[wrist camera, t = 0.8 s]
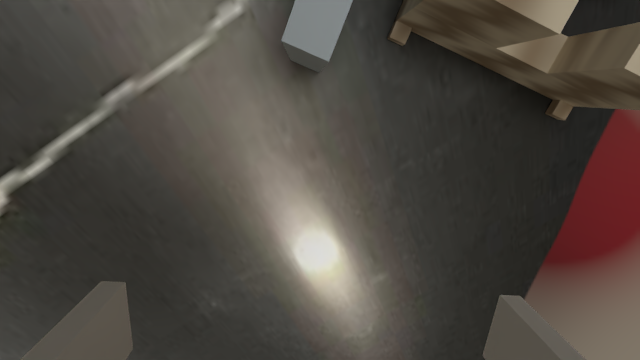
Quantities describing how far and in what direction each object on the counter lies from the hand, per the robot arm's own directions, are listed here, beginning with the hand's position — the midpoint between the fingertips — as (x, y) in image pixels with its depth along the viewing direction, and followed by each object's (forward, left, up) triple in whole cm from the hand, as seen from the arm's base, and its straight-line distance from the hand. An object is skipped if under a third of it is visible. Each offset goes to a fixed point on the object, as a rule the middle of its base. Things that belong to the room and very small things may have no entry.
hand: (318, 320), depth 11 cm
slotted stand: (-4, +21, -22) cm, 31 cm away
